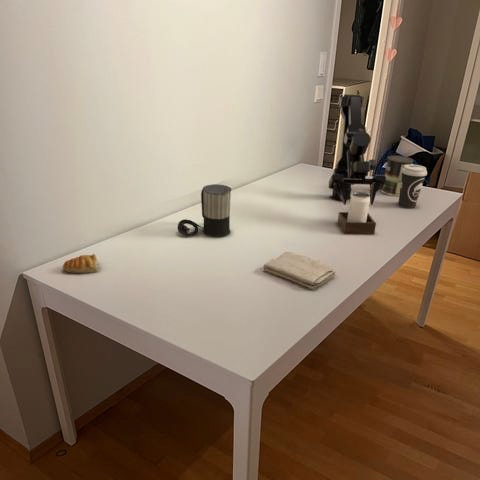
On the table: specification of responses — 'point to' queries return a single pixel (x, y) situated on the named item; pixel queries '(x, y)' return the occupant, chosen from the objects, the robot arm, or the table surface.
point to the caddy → (356, 225)
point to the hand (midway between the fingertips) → (358, 204)
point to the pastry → (82, 264)
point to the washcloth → (300, 269)
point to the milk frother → (212, 212)
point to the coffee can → (394, 174)
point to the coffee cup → (411, 185)
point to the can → (358, 207)
